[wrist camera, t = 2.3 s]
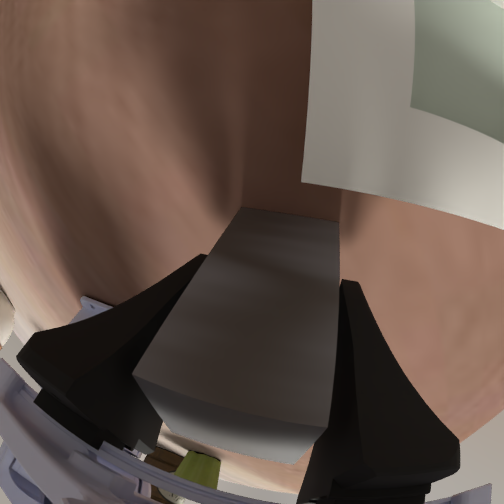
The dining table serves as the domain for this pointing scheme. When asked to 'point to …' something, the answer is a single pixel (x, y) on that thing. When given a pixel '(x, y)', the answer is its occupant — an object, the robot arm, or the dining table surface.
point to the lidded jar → (5, 318)
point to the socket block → (409, 102)
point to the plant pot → (199, 469)
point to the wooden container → (169, 464)
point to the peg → (252, 340)
